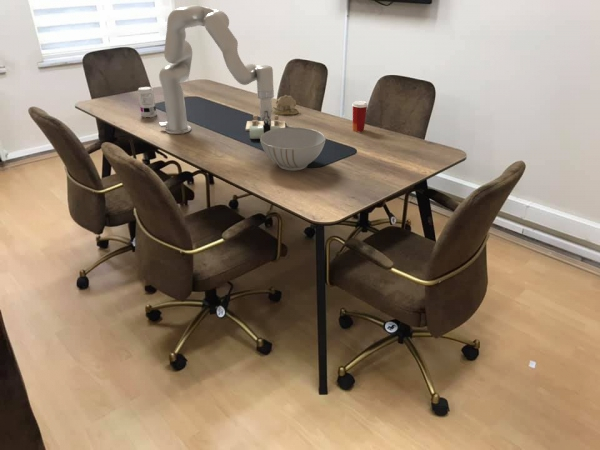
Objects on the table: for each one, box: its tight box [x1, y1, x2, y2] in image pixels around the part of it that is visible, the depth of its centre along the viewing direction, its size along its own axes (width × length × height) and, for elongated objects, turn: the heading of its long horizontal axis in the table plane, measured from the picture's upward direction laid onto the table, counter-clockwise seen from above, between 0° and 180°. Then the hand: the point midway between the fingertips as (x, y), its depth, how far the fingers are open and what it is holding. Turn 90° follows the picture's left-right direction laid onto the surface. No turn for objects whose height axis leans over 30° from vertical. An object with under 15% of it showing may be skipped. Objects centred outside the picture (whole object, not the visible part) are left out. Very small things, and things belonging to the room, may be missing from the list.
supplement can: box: [137, 86, 158, 118], centre depth 253 cm, size 8×8×15 cm
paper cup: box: [351, 100, 369, 133], centre depth 232 cm, size 8×8×14 cm
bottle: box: [248, 126, 279, 140], centre depth 223 cm, size 20×6×6 cm, turn 92°
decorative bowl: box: [259, 126, 326, 171], centre depth 193 cm, size 27×27×12 cm
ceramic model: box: [272, 94, 299, 116], centre depth 260 cm, size 14×11×10 cm
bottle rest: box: [245, 114, 286, 132], centre depth 239 cm, size 20×13×4 cm, turn 92°
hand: (267, 129), depth 223 cm, fingers open, 9 cm apart
